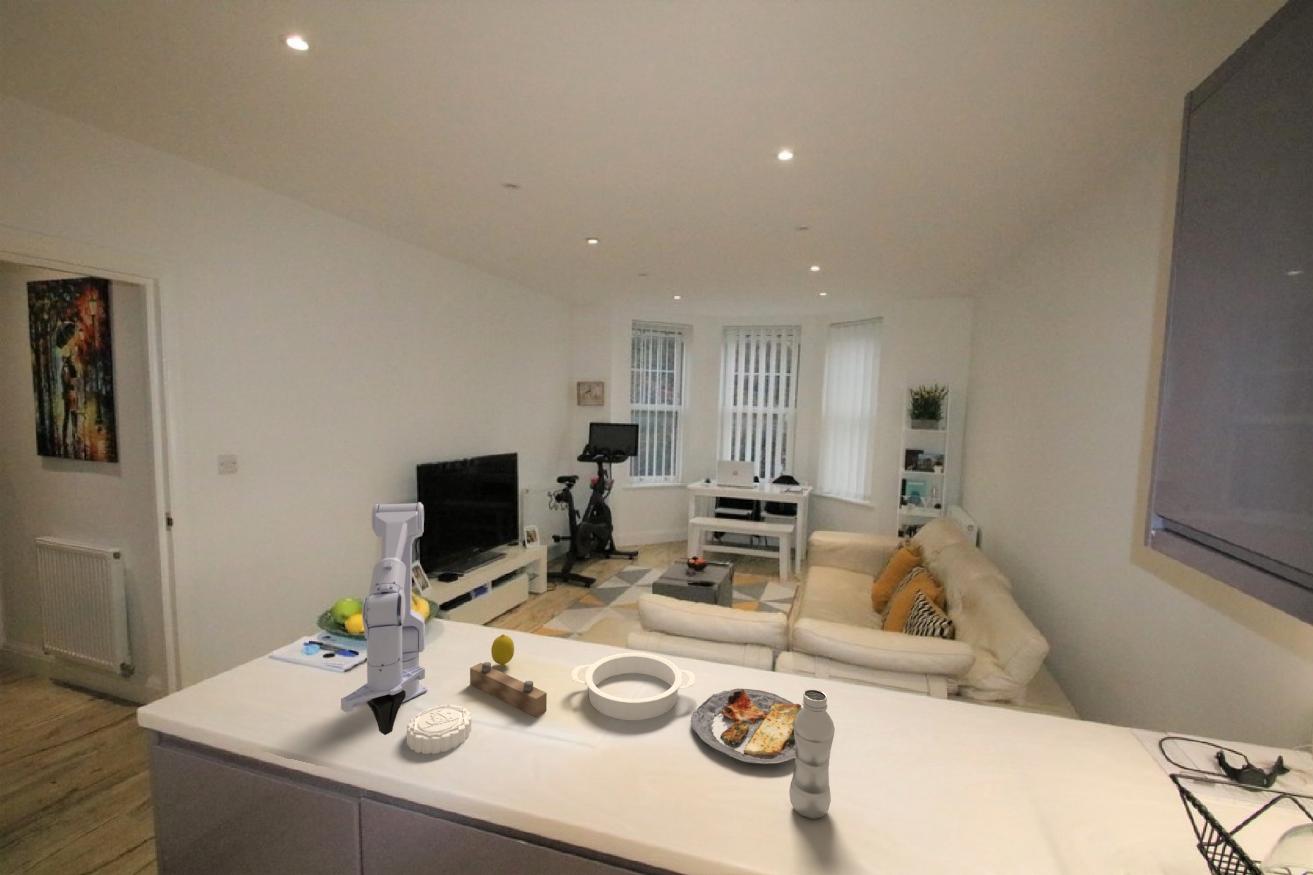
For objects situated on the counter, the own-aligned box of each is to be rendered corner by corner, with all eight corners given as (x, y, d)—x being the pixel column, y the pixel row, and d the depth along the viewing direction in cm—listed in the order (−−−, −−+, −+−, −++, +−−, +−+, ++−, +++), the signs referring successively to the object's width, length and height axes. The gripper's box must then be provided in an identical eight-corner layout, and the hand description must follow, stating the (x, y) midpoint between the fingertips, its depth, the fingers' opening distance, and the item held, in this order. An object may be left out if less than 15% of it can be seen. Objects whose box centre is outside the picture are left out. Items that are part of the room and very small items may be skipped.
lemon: (507, 672, 134) (508, 640, 133) (487, 669, 135) (487, 637, 134) (517, 661, 139) (518, 631, 138) (497, 659, 140) (498, 628, 140)
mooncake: (463, 712, 117) (463, 695, 117) (478, 742, 107) (478, 725, 107) (402, 729, 110) (402, 712, 110) (411, 763, 100) (411, 744, 100)
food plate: (730, 685, 130) (731, 671, 130) (827, 721, 117) (828, 706, 116) (672, 740, 110) (672, 724, 109) (781, 792, 96) (782, 773, 96)
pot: (560, 720, 115) (560, 698, 115) (580, 668, 137) (580, 649, 137) (695, 728, 114) (696, 706, 113) (694, 674, 136) (694, 655, 135)
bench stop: (470, 684, 128) (470, 661, 127) (480, 678, 130) (480, 656, 130) (536, 716, 115) (536, 691, 115) (546, 710, 118) (546, 685, 117)
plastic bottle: (783, 796, 94) (788, 685, 93) (821, 795, 95) (827, 684, 93) (796, 825, 88) (801, 706, 86) (836, 823, 88) (843, 705, 87)
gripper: (355, 682, 90) (356, 761, 91) (434, 650, 102) (434, 720, 103) (334, 669, 94) (335, 745, 95) (412, 640, 106) (413, 707, 107)
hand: (385, 731), depth 99 cm, fingers closed
